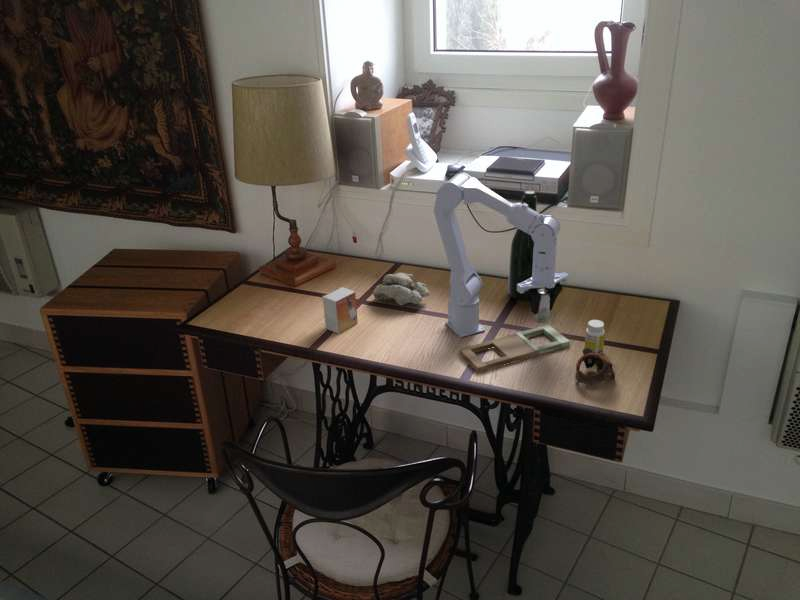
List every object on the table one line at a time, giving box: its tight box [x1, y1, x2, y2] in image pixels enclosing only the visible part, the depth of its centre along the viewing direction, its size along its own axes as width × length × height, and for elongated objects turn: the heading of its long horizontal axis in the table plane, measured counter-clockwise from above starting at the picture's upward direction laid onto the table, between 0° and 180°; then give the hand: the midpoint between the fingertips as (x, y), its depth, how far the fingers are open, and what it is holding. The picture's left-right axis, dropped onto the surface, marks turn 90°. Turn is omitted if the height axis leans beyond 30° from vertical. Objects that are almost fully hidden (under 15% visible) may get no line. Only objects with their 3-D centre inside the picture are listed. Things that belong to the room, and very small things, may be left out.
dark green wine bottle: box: [507, 190, 544, 302], centre depth 202 cm, size 10×10×33 cm
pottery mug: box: [574, 347, 616, 386], centre depth 168 cm, size 12×10×8 cm
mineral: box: [372, 272, 430, 306], centre depth 208 cm, size 12×17×10 cm
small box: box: [322, 286, 359, 335], centre depth 195 cm, size 8×6×10 cm
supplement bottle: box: [584, 319, 606, 355], centre depth 178 cm, size 5×5×8 cm
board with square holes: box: [458, 324, 571, 373], centre depth 182 cm, size 10×28×2 cm, turn 114°
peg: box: [533, 288, 551, 324], centre depth 179 cm, size 4×4×8 cm
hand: (541, 310), depth 180 cm, fingers closed on peg, 4 cm apart
